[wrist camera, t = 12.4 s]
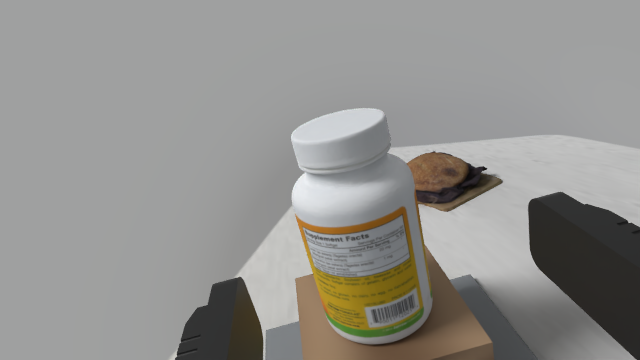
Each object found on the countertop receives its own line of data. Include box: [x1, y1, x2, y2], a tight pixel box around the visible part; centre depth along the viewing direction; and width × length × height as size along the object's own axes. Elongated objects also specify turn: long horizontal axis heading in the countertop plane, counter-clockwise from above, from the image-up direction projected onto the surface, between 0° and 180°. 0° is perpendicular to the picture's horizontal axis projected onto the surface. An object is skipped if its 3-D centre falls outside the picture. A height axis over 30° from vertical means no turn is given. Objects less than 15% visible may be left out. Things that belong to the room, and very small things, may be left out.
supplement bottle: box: [291, 108, 433, 344], centre depth 18 cm, size 5×5×10 cm
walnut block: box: [295, 244, 494, 360], centre depth 21 cm, size 8×8×4 cm
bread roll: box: [407, 151, 502, 212], centre depth 40 cm, size 11×8×4 cm
